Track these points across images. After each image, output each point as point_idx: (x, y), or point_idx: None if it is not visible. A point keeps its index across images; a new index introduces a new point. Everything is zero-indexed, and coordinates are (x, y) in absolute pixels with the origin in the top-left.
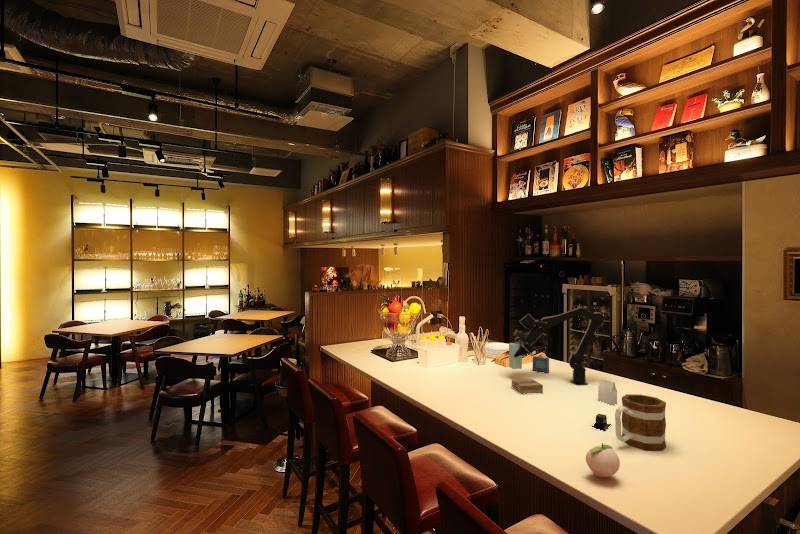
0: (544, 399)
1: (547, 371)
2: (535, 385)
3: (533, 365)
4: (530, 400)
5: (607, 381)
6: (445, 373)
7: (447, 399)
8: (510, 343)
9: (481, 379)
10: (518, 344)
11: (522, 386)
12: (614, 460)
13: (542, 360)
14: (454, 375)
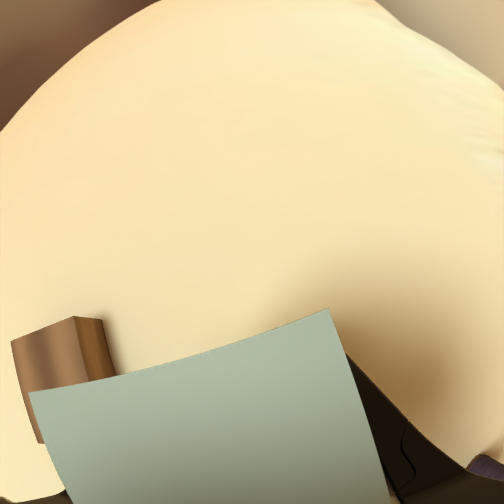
0: (17, 409)
1: None
2: (26, 408)
3: (491, 470)
4: (3, 357)
5: None
6: (300, 37)
7: (31, 125)
8: (229, 366)
9: (230, 159)
10: None
11: (13, 347)
12: None
13: None
14: (277, 59)
